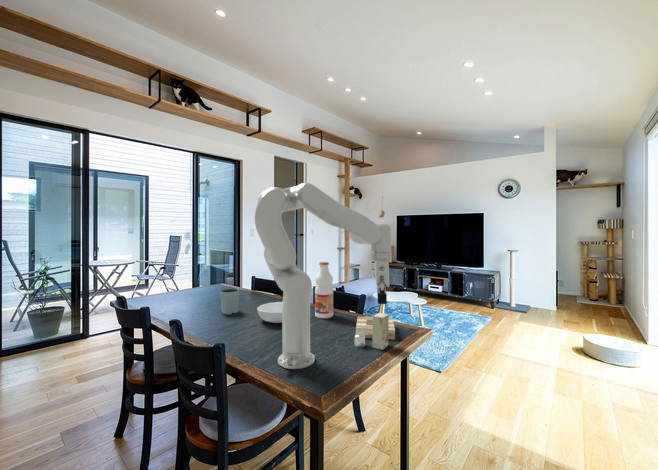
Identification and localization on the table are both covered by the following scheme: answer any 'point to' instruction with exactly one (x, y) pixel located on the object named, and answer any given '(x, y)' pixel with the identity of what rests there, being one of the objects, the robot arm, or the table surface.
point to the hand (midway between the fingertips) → (381, 300)
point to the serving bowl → (271, 312)
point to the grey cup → (229, 300)
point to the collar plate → (366, 327)
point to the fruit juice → (324, 292)
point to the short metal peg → (359, 340)
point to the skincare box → (380, 330)
